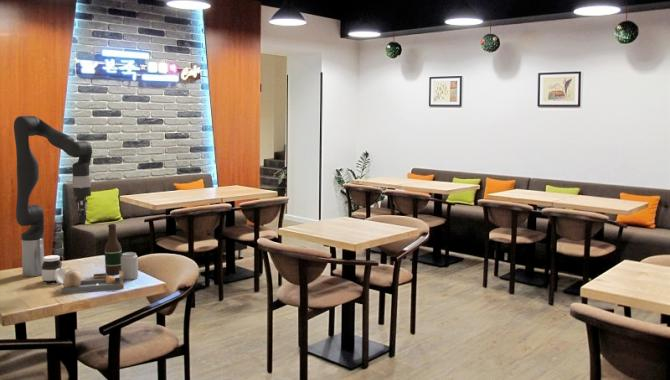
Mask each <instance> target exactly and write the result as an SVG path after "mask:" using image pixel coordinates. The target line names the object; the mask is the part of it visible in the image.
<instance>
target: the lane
mask: <svg viewBox="0 0 670 380" xmlns="http://www.w3.org/2000/svg"><path fill="white" fill-rule="evenodd" d="M114 278H115V283H114V284H107V283H106V279H95V280H93V279H83V280H81V284H80V287H70V288H65V287H64V286H63V287H62V288H61V294H62V295H64V294H75V293H85V292H96V291H97V292H98V291H109V290H118V289H119V290H121V289H120V279H119V277H114ZM63 293H64V294H63Z"/></svg>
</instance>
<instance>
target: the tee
mask: <svg viewBox="0 0 670 380" xmlns="http://www.w3.org/2000/svg"><path fill="white" fill-rule="evenodd" d="M107 277H108V275H107V273H106V272H104V273H103V272H102V273H93V277H92V280H95V279H106V278H107Z"/></svg>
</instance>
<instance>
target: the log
mask: <svg viewBox="0 0 670 380" xmlns="http://www.w3.org/2000/svg"><path fill="white" fill-rule="evenodd" d="M81 281H82V274H81V272H80V271H78V270H75V269H71V270H69V271H67V273H66V275H65V278H64V281H63V284H62V285H63V288H64V287H65V288H70V287H80V284H81Z"/></svg>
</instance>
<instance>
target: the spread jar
mask: <svg viewBox="0 0 670 380" xmlns="http://www.w3.org/2000/svg"><path fill="white" fill-rule="evenodd" d="M60 259H61V256H60V255H57V254H55V255H53V254H51V255H46V256H45V255H44V257H43V261H44V262H43V264H42V275H41V280H42V282H43V283H44V284H46V283H47V285H49V284H51V285H53V284H52V283H54V284H60V285H63V281H64V278H65V275H66V273H67V272H68V271H67V270H66V269H64V268H63V263H62V261H61V260H60Z"/></svg>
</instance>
